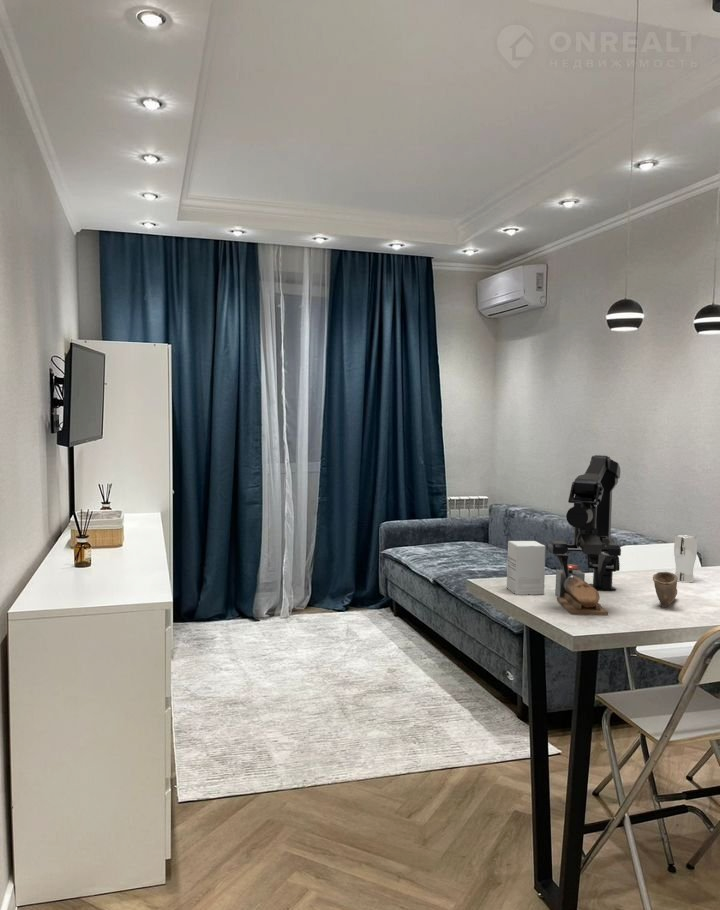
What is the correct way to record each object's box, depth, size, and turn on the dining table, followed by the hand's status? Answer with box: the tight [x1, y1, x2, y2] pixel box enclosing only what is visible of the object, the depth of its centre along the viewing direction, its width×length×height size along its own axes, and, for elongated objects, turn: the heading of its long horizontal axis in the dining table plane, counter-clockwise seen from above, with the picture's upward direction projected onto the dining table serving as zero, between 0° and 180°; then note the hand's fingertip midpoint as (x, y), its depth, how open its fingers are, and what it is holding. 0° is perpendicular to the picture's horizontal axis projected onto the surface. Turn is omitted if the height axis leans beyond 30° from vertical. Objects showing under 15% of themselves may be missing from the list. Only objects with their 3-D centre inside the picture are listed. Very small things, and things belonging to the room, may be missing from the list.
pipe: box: [652, 571, 678, 608], centre depth 202 cm, size 6×17×10 cm, turn 146°
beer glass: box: [673, 534, 698, 584], centre depth 233 cm, size 7×7×15 cm
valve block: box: [554, 563, 586, 598], centre depth 206 cm, size 7×7×9 cm
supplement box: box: [506, 540, 546, 596], centre depth 212 cm, size 9×9×15 cm
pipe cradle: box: [556, 593, 609, 616], centre depth 195 cm, size 14×10×3 cm
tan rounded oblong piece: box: [566, 577, 600, 608], centre depth 195 cm, size 12×6×6 cm, turn 179°
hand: (582, 578), depth 194 cm, fingers open, 9 cm apart
